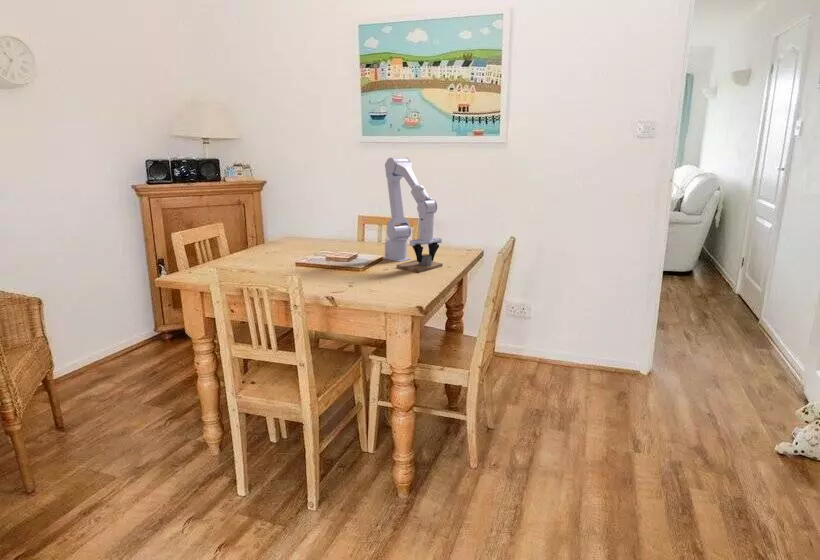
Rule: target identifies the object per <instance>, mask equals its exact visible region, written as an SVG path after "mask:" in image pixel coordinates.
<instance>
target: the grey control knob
mask: <svg viewBox="0 0 820 560" xmlns="http://www.w3.org/2000/svg"><path fill="white" fill-rule="evenodd" d="M419 265H421V266H431V265H432V255H430V254H429V253H422V261H421V262H419Z"/></svg>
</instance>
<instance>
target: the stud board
mask: <svg viewBox="0 0 820 560" xmlns="http://www.w3.org/2000/svg"><path fill="white" fill-rule="evenodd" d="M443 266H444V265H443V263H441V262H437V261H434V260H433V261H432V265H431V266H421V265H419V262H417V259H414V260H411V261H406V262H403V263H399V264H396V269H401V270H405V271H410V272H412V273H413V272H414V273H419V274H420V273H423V272H427V271H431V270H434V269H437V268H438V269H439V268H442V267H443Z"/></svg>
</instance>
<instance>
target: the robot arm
mask: <svg viewBox="0 0 820 560" xmlns="http://www.w3.org/2000/svg"><path fill="white" fill-rule="evenodd" d="M384 168H385V170H384V171H385V177H386V182H387V189H388V191H387V192H388V197H389V198H388V199H389V205H390V214H391V215H390V216H391V218H390V219H389V221H387V223H386V227H387V228H386V236H387V237H388V238H387V239H386V241H385V243H384V257H383V259H385V260H390V261H393V262H399V263H401V262H405V261H408V260H411V257H409V256H408V255H407V253H408V251H407V250H408V248H407V247H408V240H409V238H410V237H411V235H412V227H411V225H410V220H409V219H407V218H406V217H405V215H404V207H403V206H404V205H403V199H402V191H401V182H400V181H401V180H402V178H404V180H405V181H406V183H407V184H408V186H409V187H410V188H411V190H410V194H411V195H412V197H413V200H414V201H415V202H416V204H417V206H416V209H417V213H418V219H419V230H418V231H419V232H418V238H417V239H411V240H409V246H411V247H412V249H413V251H414V254H415V257H416V260H417V262H421V261H422V254H423V250H424V247H423V245H427V246H428V254H430V255H432V261H433V262H434V258H435V256H436V253H437V252H438V249H439V248H440V244H443V243H442V241H443V239H442V238H440V237H437V238H436V237H434V221H435V213H437V210H438V204H437V200H435V199H434V198H433V197H430V195H429V193H428V192H427V191H426V189H425V186H424V185H422V184H419V182H418V179H417V177H416V175H415V173H414V171H413V170H412V169H413V163H412V162H411V160H410V158H409V157H389V158H387V159H386V161H385V163H384Z"/></svg>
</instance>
